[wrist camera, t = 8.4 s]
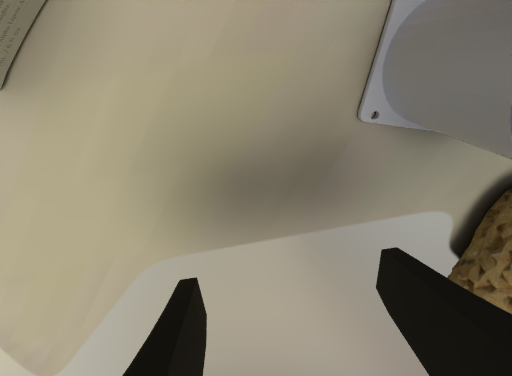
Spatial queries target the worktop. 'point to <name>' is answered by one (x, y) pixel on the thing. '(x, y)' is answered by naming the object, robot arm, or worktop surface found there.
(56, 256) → the worktop surface
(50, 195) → the worktop surface
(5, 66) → the skincare box
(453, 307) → the robot arm
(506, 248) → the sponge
